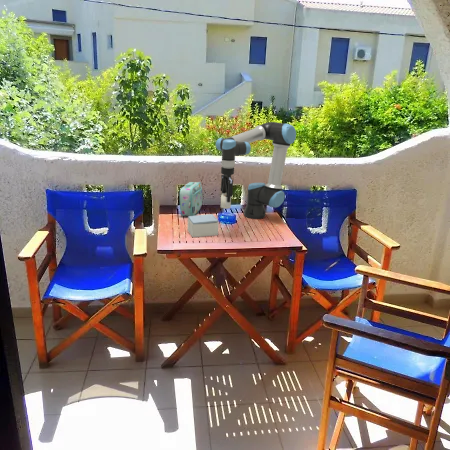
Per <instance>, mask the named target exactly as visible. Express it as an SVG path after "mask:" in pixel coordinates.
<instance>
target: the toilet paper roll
mask: <svg viewBox="0 0 450 450" xmlns="http://www.w3.org/2000/svg"><path fill="white" fill-rule="evenodd" d="M225 196H227V194H223V195H222V194H221V195H220V209H225V210H226V209H227V210H228V209H231V206H232V199H231V200H230V207H225V204H226V197H225Z"/></svg>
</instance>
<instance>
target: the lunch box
mask: <svg viewBox="0 0 450 450" xmlns="http://www.w3.org/2000/svg"><path fill="white" fill-rule="evenodd" d="M202 204H203V185H202V182H201V181H197V182H196V181H195V182H194V181H189V182H188V183H186V184H184V186H182V187H181V188H180V190H179V210H180V211H179V212H180V215H181V216H182V217H188V216H197V214H198V213H199V211H200V210H201V208H202V206H203V205H202Z"/></svg>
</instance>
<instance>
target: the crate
mask: <svg viewBox="0 0 450 450" xmlns="http://www.w3.org/2000/svg"><path fill="white" fill-rule="evenodd" d="M219 223H220V222H219V221H218V222H213V223H203V224H192V222H191V221H190V220H189V218H188V217H187V228H186V229H187V231H188V233H189V235H190V236H191V238H201V237H212V236H213V237H214V236H219Z"/></svg>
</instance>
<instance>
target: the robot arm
mask: <svg viewBox="0 0 450 450" xmlns="http://www.w3.org/2000/svg"><path fill="white" fill-rule="evenodd" d="M295 128H296V127H294V125H292V124H289V123H284V122H283V123H282V122H278V121H277V122H276V121H270V122H265V123H262V124H258V125H256V126H255V127H254V128H252V129H249V130H246V131H243V132H241V133H239V134H235V135H232V136H230V137H226V138H225V137H224V138H223V137H219V138H217V140H216V141H215V148H216V149H217V150H218V151H221V161H220V163H221V164H220V165H221V168H220V173H221V177H220V178H221V179H220V180H221V181H220V191H221V193H222V194H221V195H223V194H227V196H225V197H226V204H225V207H230V200H231V201H232V197H233V190H234V189H233V187H234V179H232V178H233V177H232V175H234V173H235V166H236V165H235V164H236V157H238V156H245V155H248V154H250V152H251V148H252V147H251V144H252V143H253V142H256V141H263V140H269V141H272V142H271V143H272V145H273V152H272V157H271V162H270V169H269V174H268V175H269V176H268V180H267V183H264V182H252V183H249V184H248V187H247V199H246V200H247V202H246V206H245V207H244V211H243V216H244V217H245V218H247V219H253V220H258V219H259V220H260V219H261V220H262V219H264V218H265V217H266V209H265V206H268V207H271V208H276V209H277V208H279V207H280V206H281V205H282V204H283V203H284V200H285V198H286V195H285V192H284V191H283V186H282V180H283V176H284V175H283V173H284V169H285V163H286V159H287V151H288V149H289V148H290V147H291V144H294V142H295V140H296V137H297V130H296V129H295Z"/></svg>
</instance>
